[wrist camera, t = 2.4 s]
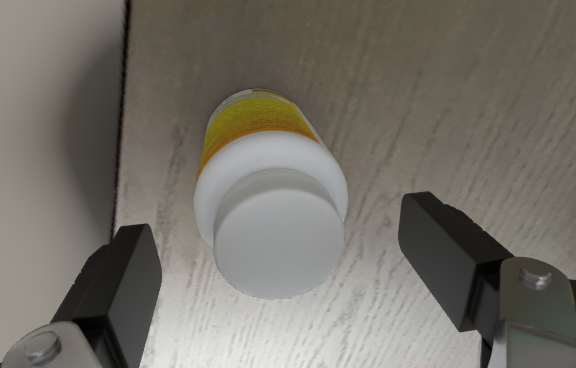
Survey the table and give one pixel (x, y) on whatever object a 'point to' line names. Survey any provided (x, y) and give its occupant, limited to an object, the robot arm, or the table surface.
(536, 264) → the robot arm
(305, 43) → the table surface
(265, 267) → the supplement bottle
